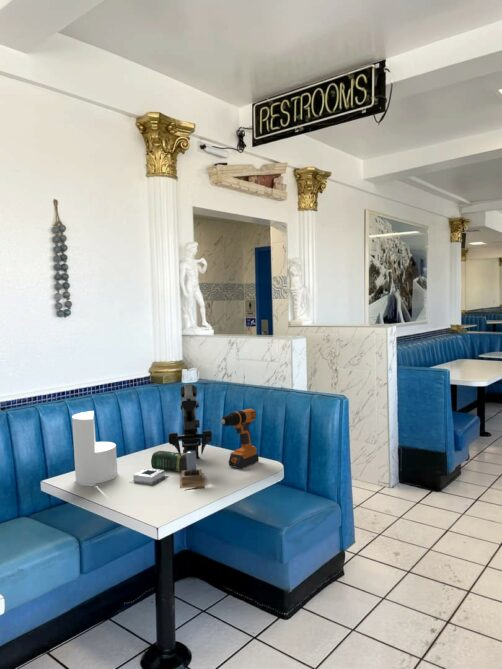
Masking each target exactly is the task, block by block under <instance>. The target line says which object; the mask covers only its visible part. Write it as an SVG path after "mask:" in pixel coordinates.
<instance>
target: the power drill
mask: <svg viewBox="0 0 502 669" xmlns="http://www.w3.org/2000/svg"><path fill="white" fill-rule="evenodd" d="M256 418H257V412H256V410H255V409H253V408H246V409H241V410H237V411H232V412H230V413H228V414H227V415H223V416H222V417H221V419H220V423H221V424H222V425H223V426H224V427H231V426H232V427H233V428H234V429H235V430H236V434H237V435H239V439H240V444H241V447H240V448H238V449H237V448H236V449H235V450H234V451H231V453H230V455H229V459H228V465H229V467H233V468H238V469H245V468H247V467H250V466H251V465H253V464H256V463H258V462H259V461H260V457H259V454H258V453H257V449H258V448H257V447H256V446H254V445H252V435H251V432H250V424H252V423H253V422H254V420H255V419H256Z"/></svg>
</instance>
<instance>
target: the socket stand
mask: <svg viewBox="0 0 502 669" xmlns="http://www.w3.org/2000/svg"><path fill="white" fill-rule="evenodd" d="M165 471H166V470H160V469H153V468H152V467H146V468H143V469H142V470H140V471H138V472H136V473H134V474H133V480H132V481H129V482H128V483H129V484H134V485H142V486H150V487H154V486H156V485H157V484H160V483H161V482H162V481H164V480H167V479H168V478H169V477H170V475H169V476H168V475H166V473H165Z"/></svg>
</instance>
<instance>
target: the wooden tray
mask: <svg viewBox="0 0 502 669" xmlns="http://www.w3.org/2000/svg"><path fill="white" fill-rule="evenodd" d="M179 489H185V491H192V490H194V491H195V490H204V489H206V485H205V475H204V472H203V470H202V468H198V469H197V475H193V476H187V470H184V471H182V472H181V474H180V475H179Z"/></svg>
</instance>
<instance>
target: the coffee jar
mask: <svg viewBox="0 0 502 669" xmlns="http://www.w3.org/2000/svg"><path fill="white" fill-rule="evenodd" d="M150 465H151V469H159V470H165V471H171V472H178V473H182V471H184V470H187V459H186V453H183V452H181V456H180V455H179V453H178V451H177V452H176V451H175V452H174V451H167V450H158V451H155V452H154V453H153V454H152V455H151V460H150Z"/></svg>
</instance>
